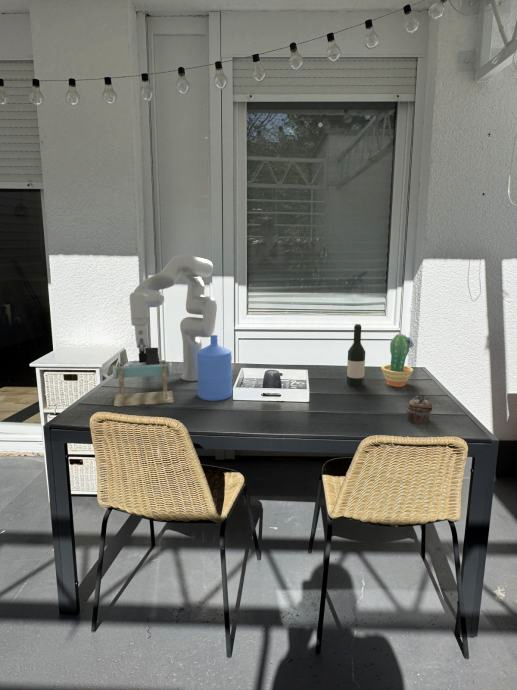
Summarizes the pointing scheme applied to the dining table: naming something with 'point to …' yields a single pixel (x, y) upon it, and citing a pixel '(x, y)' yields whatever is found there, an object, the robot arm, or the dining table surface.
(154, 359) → the phone stand
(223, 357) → the water jug
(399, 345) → the potted cactus
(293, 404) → the dining table surface
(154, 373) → the teal long bar
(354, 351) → the wine bottle
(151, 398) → the stand
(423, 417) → the cupcake
